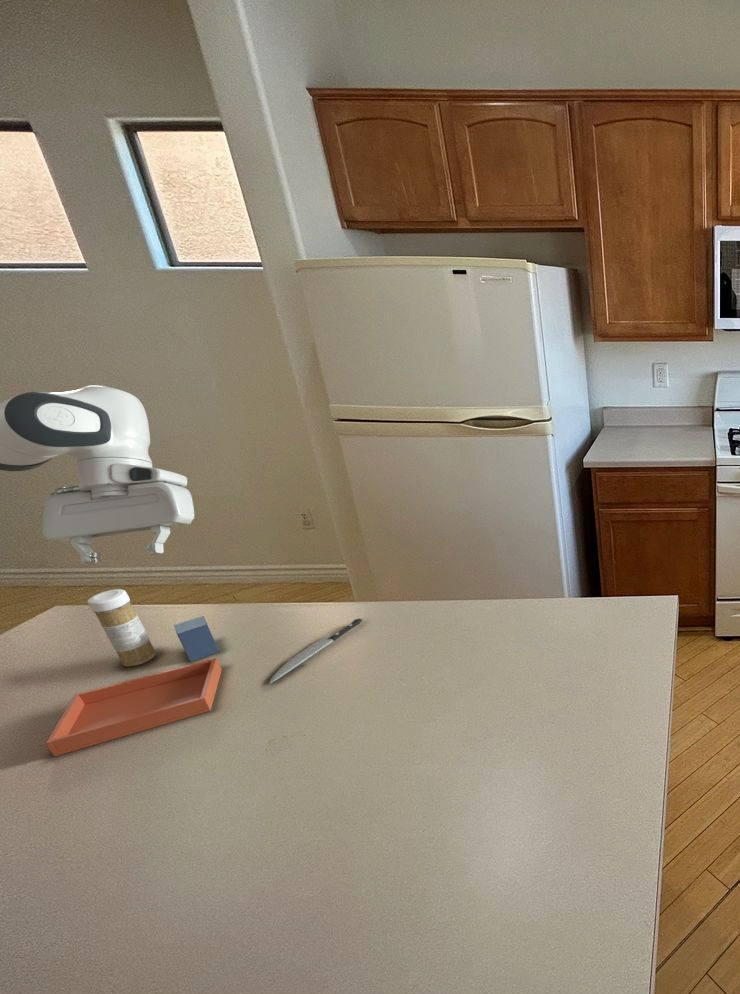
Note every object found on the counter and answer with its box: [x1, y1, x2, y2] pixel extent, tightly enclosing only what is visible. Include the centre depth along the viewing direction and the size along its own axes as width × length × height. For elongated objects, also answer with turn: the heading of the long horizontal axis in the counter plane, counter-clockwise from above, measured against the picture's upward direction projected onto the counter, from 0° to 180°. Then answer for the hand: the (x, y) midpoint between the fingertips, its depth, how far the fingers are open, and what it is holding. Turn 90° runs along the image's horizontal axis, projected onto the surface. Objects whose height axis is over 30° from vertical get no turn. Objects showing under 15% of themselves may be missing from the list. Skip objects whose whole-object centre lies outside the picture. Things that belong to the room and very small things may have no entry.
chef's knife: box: [268, 618, 363, 685], centre depth 101 cm, size 19×1×3 cm
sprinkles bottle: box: [87, 588, 157, 667], centre depth 95 cm, size 5×5×13 cm
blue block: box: [173, 615, 220, 663], centre depth 99 cm, size 4×4×6 cm
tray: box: [45, 657, 223, 757], centre depth 87 cm, size 17×12×3 cm
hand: (123, 558), depth 95 cm, fingers open, 8 cm apart
